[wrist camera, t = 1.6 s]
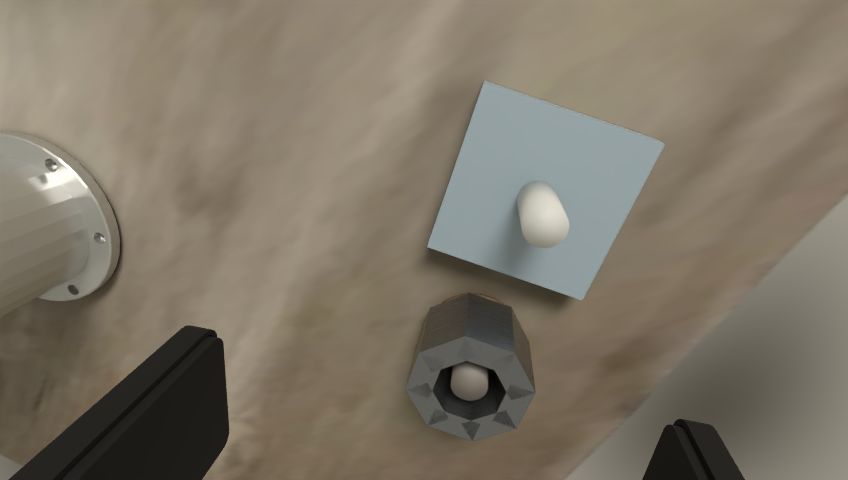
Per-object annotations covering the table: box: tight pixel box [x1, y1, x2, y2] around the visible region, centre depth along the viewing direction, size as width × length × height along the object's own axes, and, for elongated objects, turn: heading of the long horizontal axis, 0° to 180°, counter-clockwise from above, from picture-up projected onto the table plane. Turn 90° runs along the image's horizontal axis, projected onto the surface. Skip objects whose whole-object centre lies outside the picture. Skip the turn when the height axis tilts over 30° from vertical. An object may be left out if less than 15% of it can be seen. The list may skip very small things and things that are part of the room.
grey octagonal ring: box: [405, 293, 536, 441], centre depth 29 cm, size 7×7×5 cm
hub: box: [427, 80, 665, 300], centre depth 25 cm, size 10×10×6 cm
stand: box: [441, 293, 504, 401], centre depth 30 cm, size 6×6×6 cm
